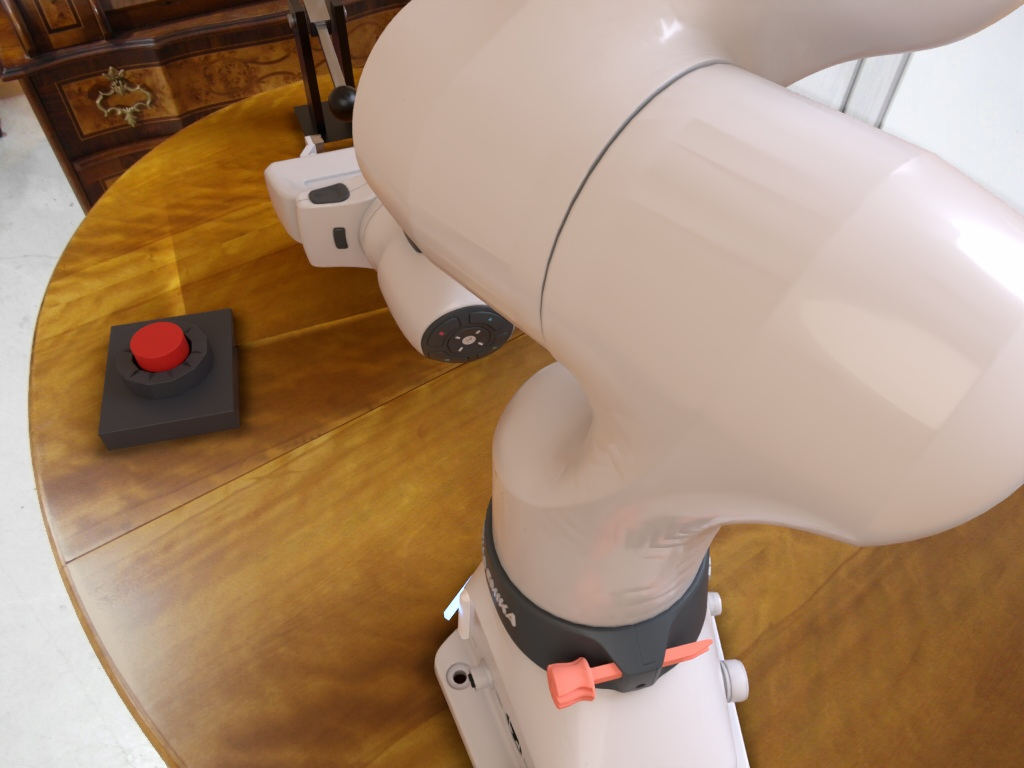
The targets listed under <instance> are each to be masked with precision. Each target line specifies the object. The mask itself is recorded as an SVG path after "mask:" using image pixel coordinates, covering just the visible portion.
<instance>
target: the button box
mask: <svg viewBox="0 0 1024 768" xmlns="http://www.w3.org/2000/svg"><path fill="white" fill-rule="evenodd" d="M157 322H170V323H173V324H176V325H177V326H179V327H180V328H181V329H182V331H183V334H184V336H185V338H186V341H187V343H188V345H189V354H188V356H187V358H186V359H185V361H184V362H183V363H182V364H180V365H179V366H177V367H175V368H173V369H171V370H169V371H164V372H149V371H146V370H144V369H143V368H141V367H140V366H139V364H138V362H137V360H136V358H135V356H134V355H133V353H132V351H131V348H130V342H131V339H132V337H133V336H134V334H135V333H136V332H137V331H139V330H140V329H141V328H143V327H145V326H147V325H150V324H153V323H157ZM235 334H236V333H235V315H234V312H233V310H232V308H231V307H229V308H221V309H215V310H208V311H202V312H195V313H189V314H182V315H177V316H176V315H175V316H169V317H163V318H162V317H161V318H156V319H155V318H154V319H149V320H143V321H135V322H129V323H124V324H117V325H116V324H115V325H111V326H110V332H109V338H108V339H109V340H108V349H107V358H106V363H105V364H106V365H105V376H104V381H103V390H102V399H101V408H100V415H99V425H98V433H97V434H98V437H99V438H100V440H101V442H102V443H103V444H104V446H105V447H106V449H107V451H109V452H110V451H115V450H116V451H117V450H121V449H126V448H127V449H128V448H133V447H137V446H145V445H149V444H155V443H160V442H166V441H172V440H177V439H182V438H189V437H194V436H199V435H200V436H201V435H205V434H206V435H207V434H211V433H217V432H222V431H223V432H224V431H228V430H234V429H239V428H241V409H240V408H241V407H240V405H241V404H240V379H239V378H240V377H239V376H240V374H239V373H240V372H239V371H240V370H239V344H236V339H235V338H236V337H235Z"/></svg>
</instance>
